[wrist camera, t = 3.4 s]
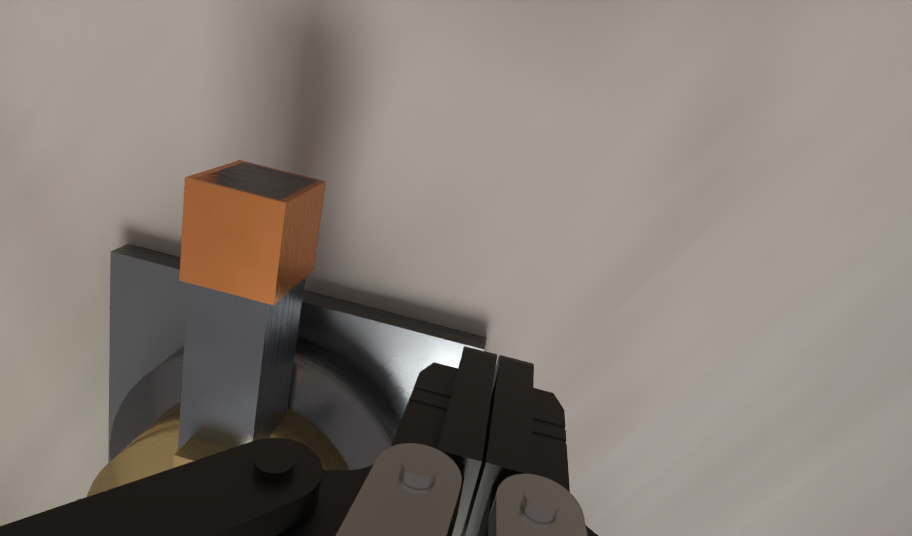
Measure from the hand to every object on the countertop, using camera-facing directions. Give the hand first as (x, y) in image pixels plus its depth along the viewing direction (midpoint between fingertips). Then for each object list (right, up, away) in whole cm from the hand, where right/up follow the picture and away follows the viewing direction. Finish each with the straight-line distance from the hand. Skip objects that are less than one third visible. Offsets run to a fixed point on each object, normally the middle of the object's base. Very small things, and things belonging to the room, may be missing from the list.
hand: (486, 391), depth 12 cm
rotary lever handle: (-8, -2, +9) cm, 12 cm away
